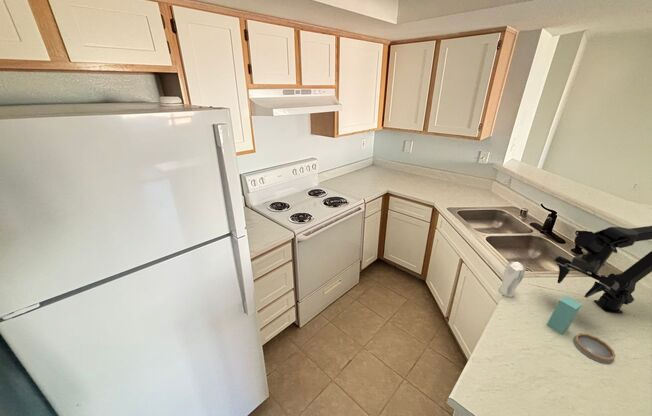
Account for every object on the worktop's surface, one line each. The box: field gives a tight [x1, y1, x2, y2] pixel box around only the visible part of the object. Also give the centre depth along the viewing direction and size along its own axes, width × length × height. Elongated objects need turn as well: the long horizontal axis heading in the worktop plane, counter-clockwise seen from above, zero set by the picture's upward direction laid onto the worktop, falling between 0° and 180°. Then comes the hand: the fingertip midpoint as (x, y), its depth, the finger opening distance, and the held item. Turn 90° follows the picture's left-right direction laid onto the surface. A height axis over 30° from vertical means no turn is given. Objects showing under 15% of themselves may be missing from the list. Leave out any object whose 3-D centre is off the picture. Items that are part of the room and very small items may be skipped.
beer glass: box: [498, 261, 527, 298], centre depth 116 cm, size 7×7×15 cm
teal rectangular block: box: [546, 295, 583, 335], centre depth 100 cm, size 5×5×13 cm
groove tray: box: [572, 332, 616, 365], centre depth 93 cm, size 11×11×2 cm
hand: (571, 289), depth 103 cm, fingers open, 9 cm apart
